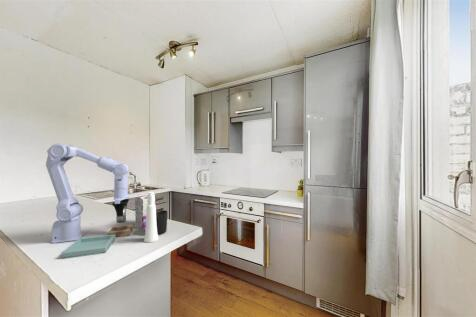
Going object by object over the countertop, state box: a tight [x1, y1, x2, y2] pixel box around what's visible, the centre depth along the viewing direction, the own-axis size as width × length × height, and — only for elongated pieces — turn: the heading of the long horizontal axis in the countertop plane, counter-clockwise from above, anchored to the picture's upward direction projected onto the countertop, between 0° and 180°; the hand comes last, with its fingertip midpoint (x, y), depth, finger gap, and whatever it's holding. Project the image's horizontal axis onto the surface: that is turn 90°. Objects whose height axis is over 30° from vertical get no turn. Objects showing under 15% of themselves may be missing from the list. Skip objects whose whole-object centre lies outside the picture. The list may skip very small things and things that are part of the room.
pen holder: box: [156, 209, 168, 236], centre depth 96 cm, size 9×9×10 cm
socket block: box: [107, 224, 134, 238], centre depth 95 cm, size 9×9×2 cm
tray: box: [61, 234, 117, 260], centre depth 80 cm, size 14×14×2 cm
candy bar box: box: [134, 194, 148, 230], centre depth 107 cm, size 11×5×16 cm, turn 168°
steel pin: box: [115, 206, 127, 224], centre depth 95 cm, size 4×4×8 cm
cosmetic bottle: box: [143, 191, 159, 244], centre depth 87 cm, size 6×6×22 cm
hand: (121, 215), depth 95 cm, fingers closed on steel pin, 4 cm apart
